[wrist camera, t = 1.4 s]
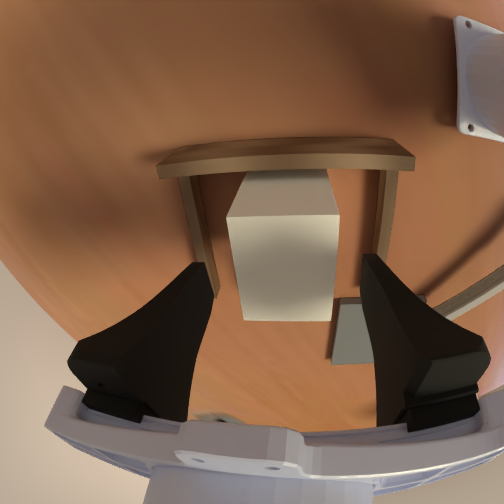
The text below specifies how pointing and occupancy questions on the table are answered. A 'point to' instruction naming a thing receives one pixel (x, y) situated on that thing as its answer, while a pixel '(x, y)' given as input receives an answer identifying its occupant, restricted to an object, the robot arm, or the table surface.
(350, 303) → the mat
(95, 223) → the table surface
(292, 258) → the cream tapered prism
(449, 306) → the caliper
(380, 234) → the frame
